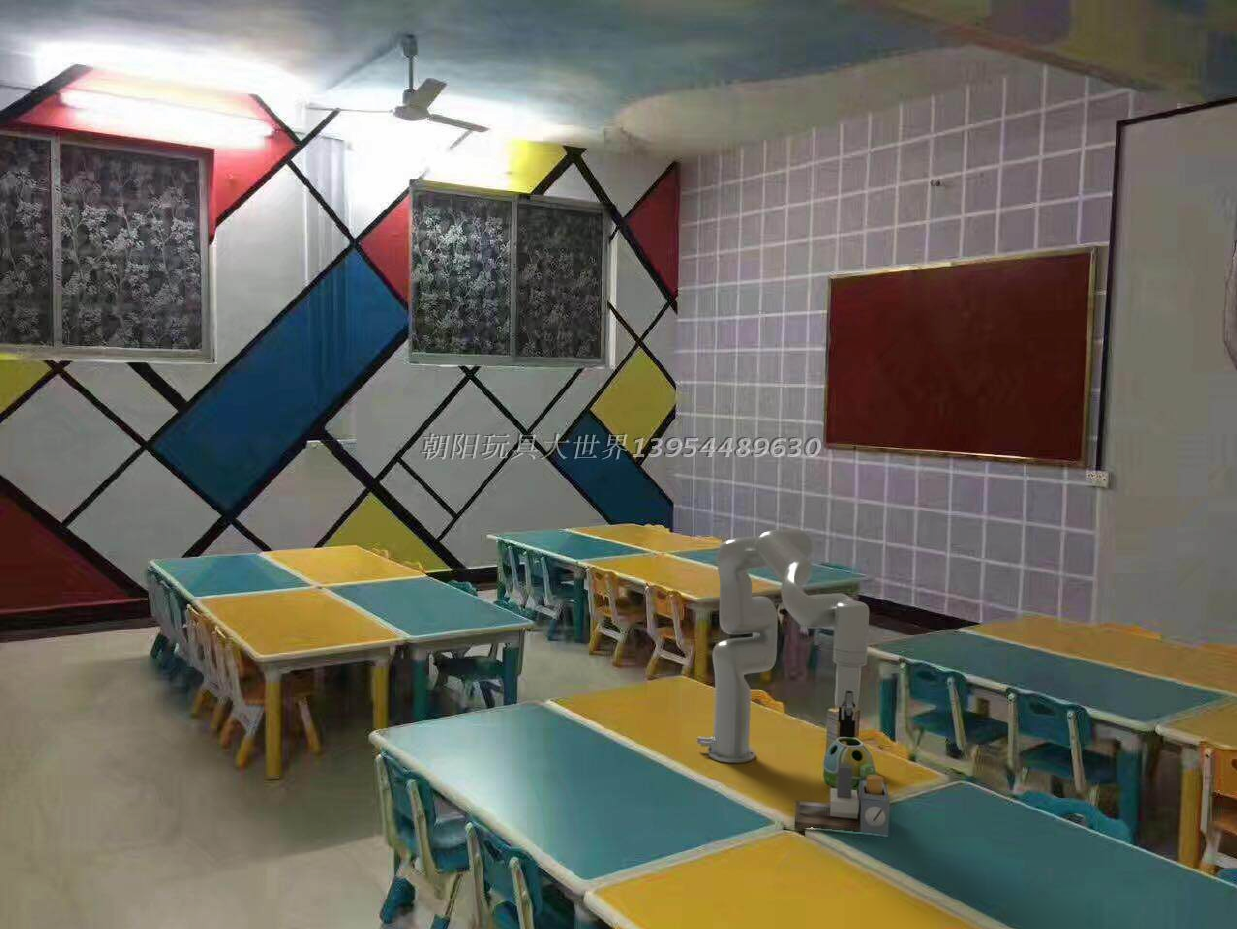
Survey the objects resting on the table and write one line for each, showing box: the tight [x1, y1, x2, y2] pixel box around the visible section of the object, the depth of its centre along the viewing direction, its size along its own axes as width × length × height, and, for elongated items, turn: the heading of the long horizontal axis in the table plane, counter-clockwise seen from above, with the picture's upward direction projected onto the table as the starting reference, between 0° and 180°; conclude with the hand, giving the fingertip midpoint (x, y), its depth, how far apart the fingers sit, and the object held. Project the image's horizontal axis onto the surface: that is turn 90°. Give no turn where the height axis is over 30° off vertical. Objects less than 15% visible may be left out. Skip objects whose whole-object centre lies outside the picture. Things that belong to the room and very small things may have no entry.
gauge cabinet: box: [858, 780, 891, 836], centre depth 236 cm, size 6×12×8 cm, turn 169°
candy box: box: [825, 705, 861, 753], centre depth 273 cm, size 9×4×15 cm, turn 129°
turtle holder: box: [822, 737, 878, 793], centre depth 255 cm, size 12×18×12 cm
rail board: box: [793, 800, 861, 832], centre depth 238 cm, size 14×12×4 cm
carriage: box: [829, 763, 859, 818], centre depth 237 cm, size 6×8×11 cm
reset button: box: [866, 774, 884, 795], centre depth 235 cm, size 4×4×4 cm
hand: (846, 729), depth 236 cm, fingers open, 9 cm apart
